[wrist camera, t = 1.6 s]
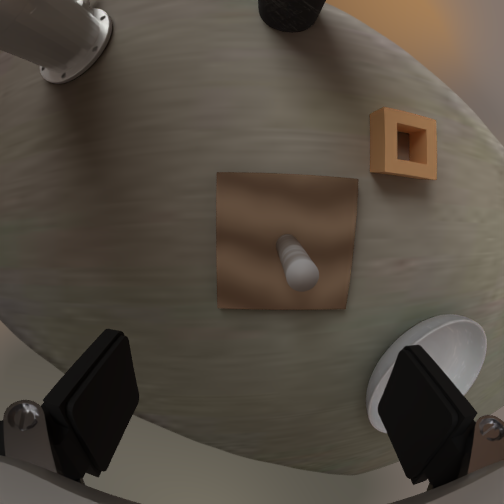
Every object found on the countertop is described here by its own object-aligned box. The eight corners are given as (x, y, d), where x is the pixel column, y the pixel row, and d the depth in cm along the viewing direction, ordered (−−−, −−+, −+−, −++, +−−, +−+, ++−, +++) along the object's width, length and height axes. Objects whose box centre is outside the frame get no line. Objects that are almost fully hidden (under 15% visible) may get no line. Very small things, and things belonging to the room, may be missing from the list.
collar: (369, 114, 27) (384, 106, 24) (418, 124, 27) (435, 120, 24) (369, 172, 29) (384, 171, 25) (418, 179, 29) (436, 179, 25)
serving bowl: (332, 406, 38) (342, 437, 31) (392, 286, 33) (418, 308, 26) (425, 407, 39) (440, 430, 32) (481, 309, 34) (505, 327, 27)
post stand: (218, 172, 29) (197, 168, 18) (353, 179, 29) (403, 180, 18) (219, 302, 33) (203, 358, 22) (342, 303, 33) (376, 355, 22)
